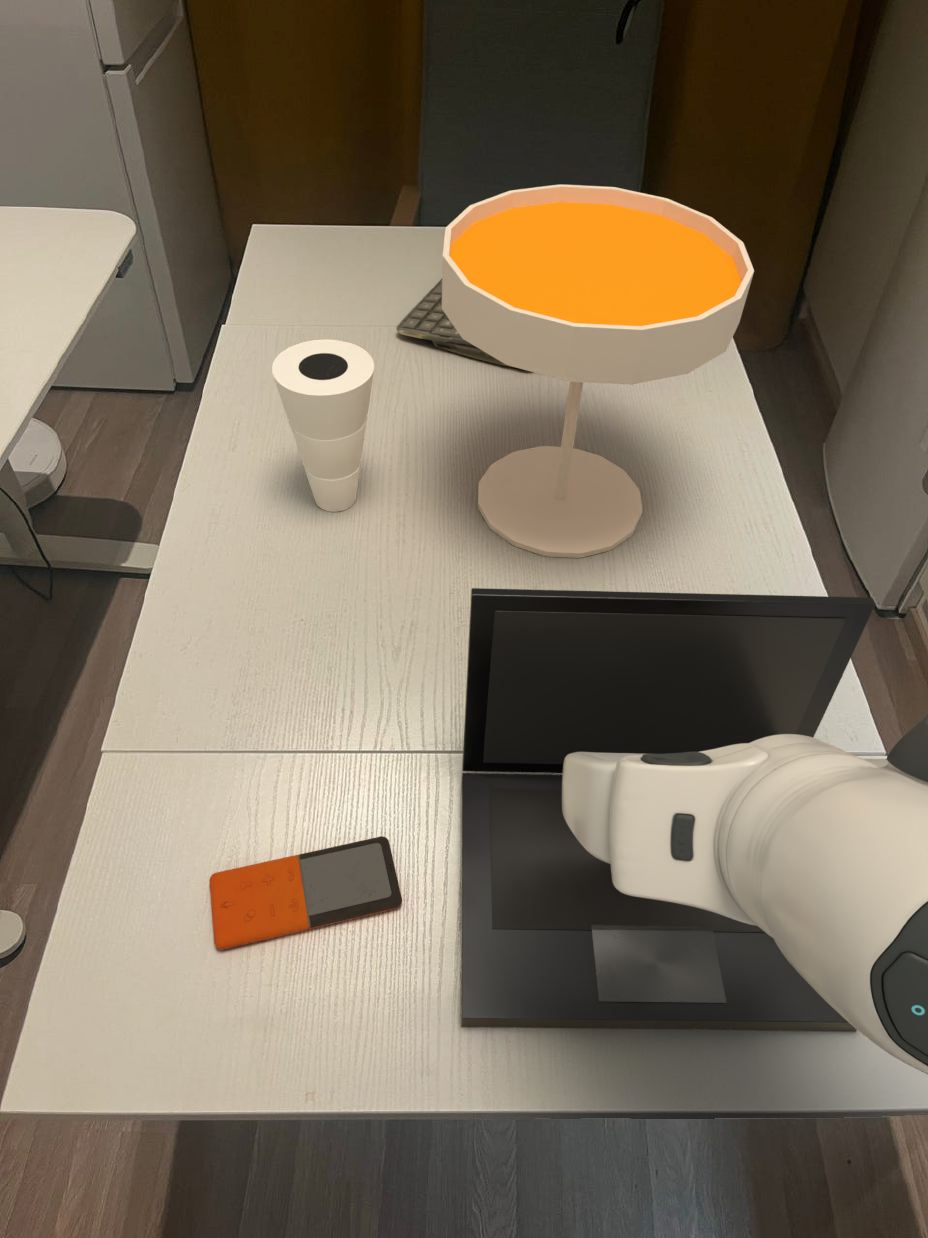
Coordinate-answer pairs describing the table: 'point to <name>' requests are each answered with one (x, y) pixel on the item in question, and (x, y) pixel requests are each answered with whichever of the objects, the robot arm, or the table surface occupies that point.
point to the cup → (327, 413)
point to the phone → (303, 892)
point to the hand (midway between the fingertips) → (709, 766)
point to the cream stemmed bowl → (586, 333)
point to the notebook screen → (646, 671)
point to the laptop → (439, 327)
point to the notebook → (600, 935)
